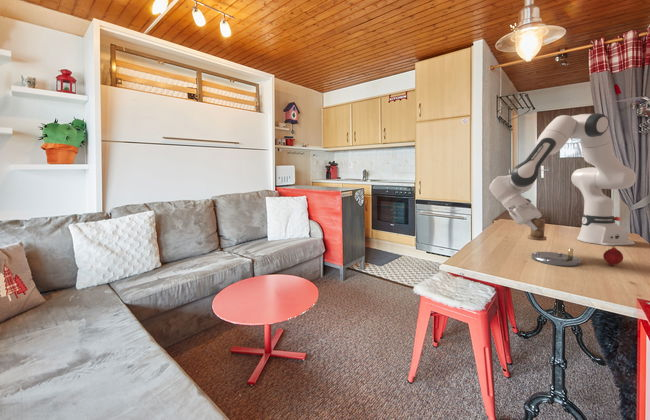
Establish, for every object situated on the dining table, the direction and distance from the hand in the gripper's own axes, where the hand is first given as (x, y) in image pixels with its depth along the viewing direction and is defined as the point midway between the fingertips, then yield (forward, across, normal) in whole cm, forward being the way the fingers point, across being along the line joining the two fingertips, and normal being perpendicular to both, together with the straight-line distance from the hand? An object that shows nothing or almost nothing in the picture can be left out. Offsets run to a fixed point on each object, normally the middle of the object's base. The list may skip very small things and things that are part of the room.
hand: (539, 228), depth 133 cm
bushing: (+3, 0, +4) cm, 5 cm away
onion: (+26, +8, -7) cm, 28 cm away
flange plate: (+14, 0, +4) cm, 15 cm away
